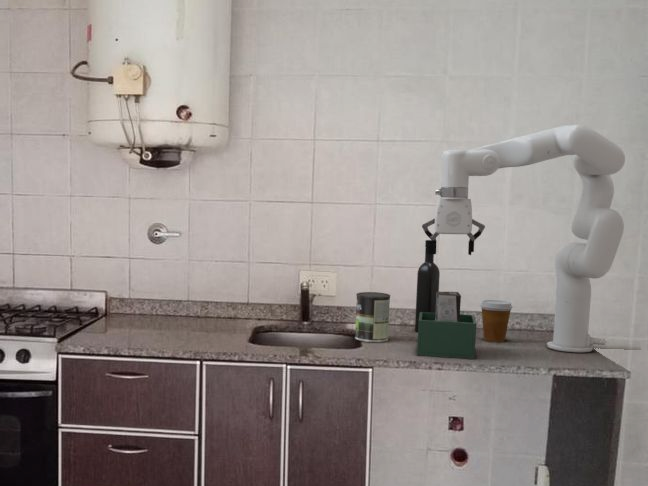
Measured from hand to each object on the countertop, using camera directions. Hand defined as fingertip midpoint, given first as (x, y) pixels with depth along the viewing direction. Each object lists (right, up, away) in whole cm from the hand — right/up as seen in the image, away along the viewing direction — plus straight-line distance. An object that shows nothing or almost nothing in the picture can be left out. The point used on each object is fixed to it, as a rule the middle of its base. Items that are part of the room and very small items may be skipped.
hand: (452, 254), depth 233 cm
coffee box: (-1, -27, +3) cm, 27 cm away
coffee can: (-19, -26, +20) cm, 38 cm away
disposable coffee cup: (+19, -26, +23) cm, 40 cm away
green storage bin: (-1, -28, +3) cm, 28 cm away
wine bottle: (+1, -24, +35) cm, 43 cm away
